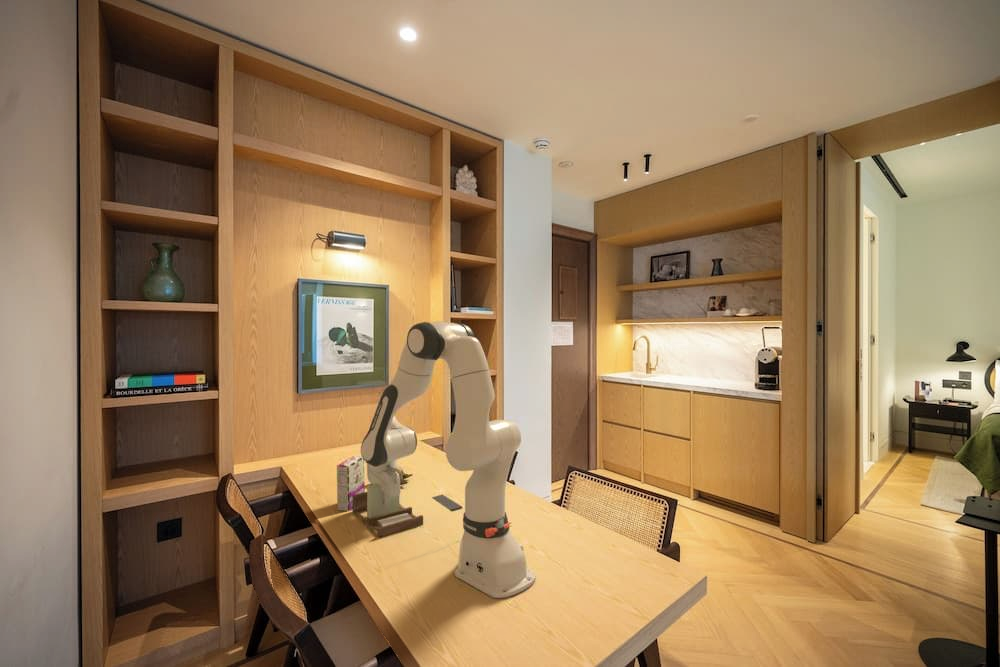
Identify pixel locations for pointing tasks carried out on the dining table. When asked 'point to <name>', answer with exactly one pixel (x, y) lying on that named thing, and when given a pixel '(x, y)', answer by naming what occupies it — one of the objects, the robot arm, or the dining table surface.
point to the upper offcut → (393, 519)
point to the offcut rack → (384, 517)
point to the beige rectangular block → (379, 502)
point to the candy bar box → (349, 482)
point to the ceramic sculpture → (402, 475)
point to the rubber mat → (447, 502)
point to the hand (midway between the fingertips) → (383, 502)
